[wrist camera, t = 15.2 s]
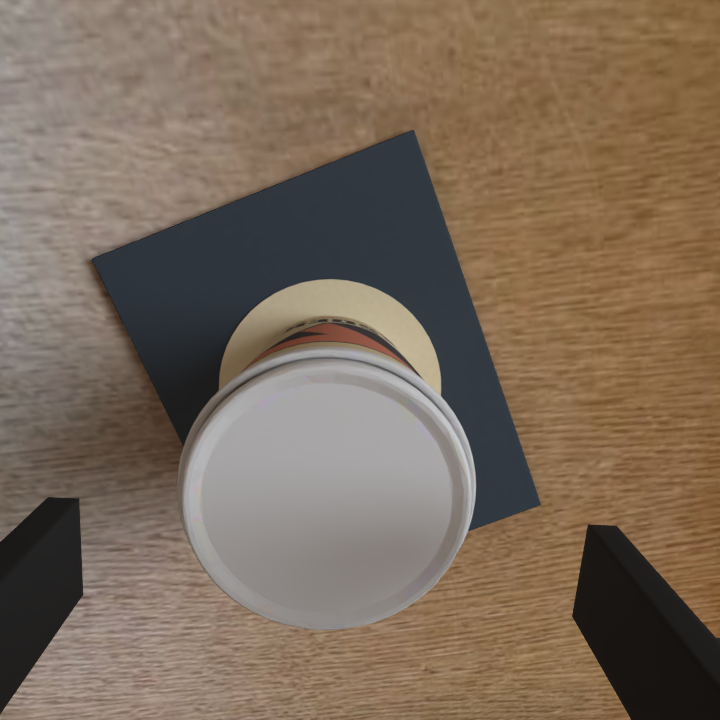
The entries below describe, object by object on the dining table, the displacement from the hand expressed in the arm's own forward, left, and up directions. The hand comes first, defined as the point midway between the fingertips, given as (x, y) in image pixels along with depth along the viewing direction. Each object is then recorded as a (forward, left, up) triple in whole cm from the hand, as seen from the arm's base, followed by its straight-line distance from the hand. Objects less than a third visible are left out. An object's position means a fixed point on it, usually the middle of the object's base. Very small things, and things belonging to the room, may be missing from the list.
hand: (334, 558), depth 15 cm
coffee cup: (0, 0, -15) cm, 15 cm away
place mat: (0, 0, -15) cm, 15 cm away
